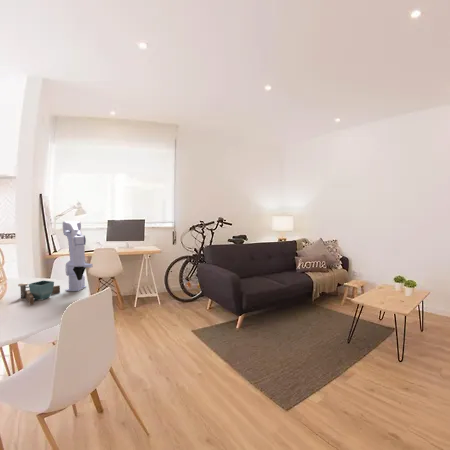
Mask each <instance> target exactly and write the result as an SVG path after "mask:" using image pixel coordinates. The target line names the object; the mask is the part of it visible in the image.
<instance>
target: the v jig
mask: <svg viewBox="0 0 450 450" xmlns="http://www.w3.org/2000/svg"><path fill="white" fill-rule="evenodd" d="M17 286H18V287H20V298H21V299H26V300H27V302H28V303H29V305H30V306H31V305H35V299H34V297H33V295H32V294H31V293H30V289H29V283H28V282H22V283H18V284H17ZM28 289H29V290H28ZM60 292H61V285H54V287H53V291H52V294H51V295H54V294H57V293H59V294H60Z"/></svg>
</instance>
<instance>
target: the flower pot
mask: <svg viewBox="0 0 450 450" xmlns="http://www.w3.org/2000/svg"><path fill="white" fill-rule="evenodd" d="M54 284H55V281H54V280H53V281H52V280H39V281H36V282H31V283H28V287H29V288H28V289H29V290H30V293H31V294H32V295H33V297H34V300H40V301H42V300H45V299H48V298H50V297H51V296H52V295H53V294H52V291H53V287H54V286H55V285H54Z"/></svg>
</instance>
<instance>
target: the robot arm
mask: <svg viewBox="0 0 450 450" xmlns="http://www.w3.org/2000/svg"><path fill="white" fill-rule="evenodd" d="M81 228H82V223H81V221H80V220H63V221H62V234H63V236H65V237H66V238H67V242H68V243H67V244H68V253H69V261H67V262H66V263H65V275H66V276H67V277H68V288H67V289H66V290H65V292H79V291H81V290H83V289H85V288H87V286H86V280H85V279H86V278H85V276H84V273H85V271H86V269H87V268H89V269H91V268H93V263H88V262H86V260H85V259H86V257H85V256H86V253H85V250H86V249H85V246H86V243H87V242H86V235H84V234H83V233H82V231H81Z"/></svg>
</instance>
